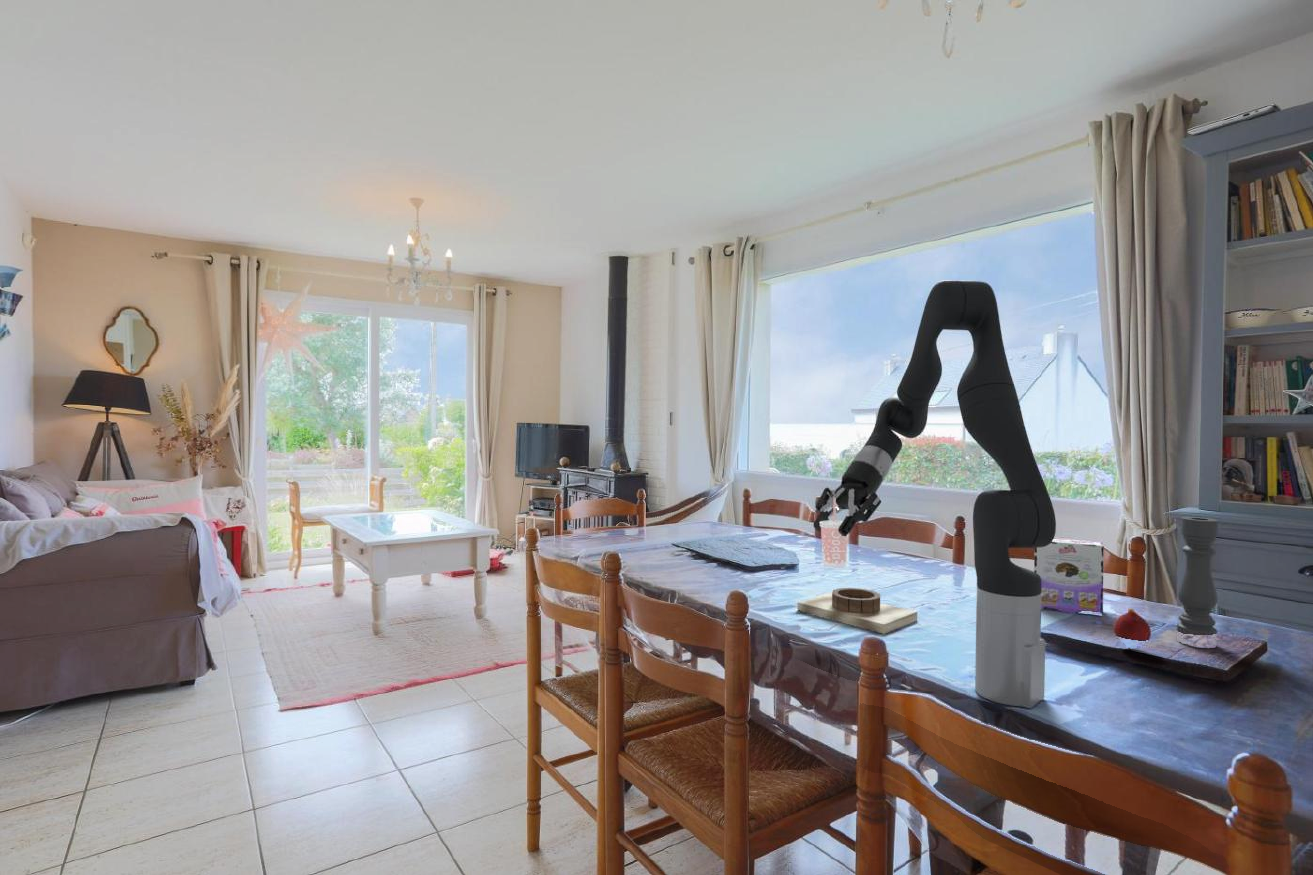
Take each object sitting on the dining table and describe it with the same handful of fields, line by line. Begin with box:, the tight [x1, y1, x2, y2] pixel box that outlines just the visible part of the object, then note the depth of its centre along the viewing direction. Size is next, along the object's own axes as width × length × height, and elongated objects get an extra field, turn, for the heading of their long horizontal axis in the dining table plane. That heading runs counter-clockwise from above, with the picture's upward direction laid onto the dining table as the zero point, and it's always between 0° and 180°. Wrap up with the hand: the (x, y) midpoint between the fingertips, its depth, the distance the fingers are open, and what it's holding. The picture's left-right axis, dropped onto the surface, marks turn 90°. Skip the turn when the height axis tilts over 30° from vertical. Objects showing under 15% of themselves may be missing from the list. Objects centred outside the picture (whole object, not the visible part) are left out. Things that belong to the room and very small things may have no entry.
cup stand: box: [796, 587, 918, 635], centre depth 150 cm, size 22×14×5 cm, turn 41°
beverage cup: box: [819, 498, 849, 569], centre depth 137 cm, size 6×6×14 cm
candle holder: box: [1176, 516, 1219, 635], centre depth 132 cm, size 6×6×25 cm
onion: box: [1113, 607, 1152, 641], centre depth 128 cm, size 6×6×8 cm
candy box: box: [1033, 537, 1104, 614], centre depth 155 cm, size 14×6×16 cm, turn 58°
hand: (829, 531), depth 136 cm, fingers closed on beverage cup, 6 cm apart
